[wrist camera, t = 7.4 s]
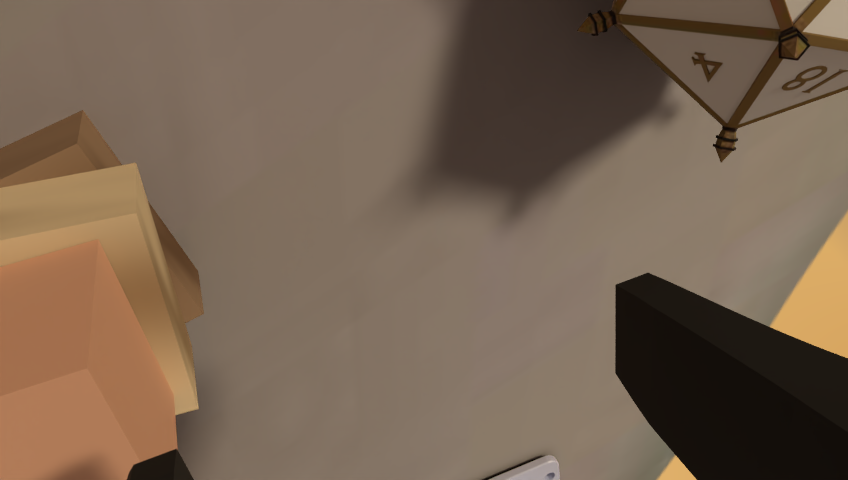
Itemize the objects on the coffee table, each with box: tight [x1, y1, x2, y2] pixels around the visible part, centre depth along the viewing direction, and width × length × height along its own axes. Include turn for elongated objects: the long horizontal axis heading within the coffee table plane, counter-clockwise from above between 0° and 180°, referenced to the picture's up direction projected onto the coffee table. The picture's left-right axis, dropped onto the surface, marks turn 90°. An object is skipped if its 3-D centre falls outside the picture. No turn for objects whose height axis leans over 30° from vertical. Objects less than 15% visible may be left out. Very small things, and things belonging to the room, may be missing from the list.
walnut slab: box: [0, 110, 204, 323], centre depth 18 cm, size 6×6×2 cm
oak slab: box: [0, 163, 199, 415], centre depth 16 cm, size 6×6×2 cm
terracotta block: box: [0, 239, 178, 480], centre depth 13 cm, size 4×4×4 cm
